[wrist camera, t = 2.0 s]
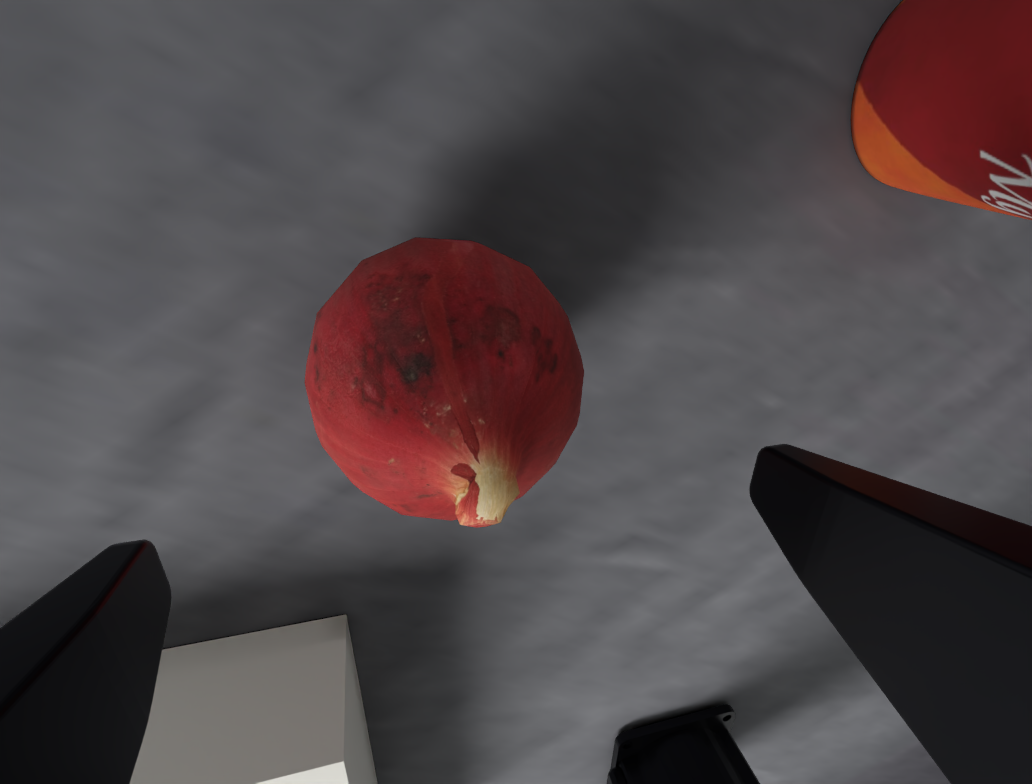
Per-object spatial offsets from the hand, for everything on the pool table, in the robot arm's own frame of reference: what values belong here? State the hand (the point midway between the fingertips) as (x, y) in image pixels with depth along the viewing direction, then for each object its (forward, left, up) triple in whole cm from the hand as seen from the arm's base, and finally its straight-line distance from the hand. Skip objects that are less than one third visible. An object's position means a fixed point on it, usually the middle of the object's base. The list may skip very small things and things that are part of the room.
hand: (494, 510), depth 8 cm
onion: (0, 0, -8) cm, 8 cm away
